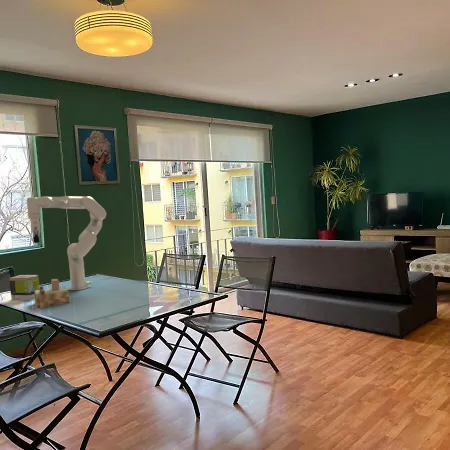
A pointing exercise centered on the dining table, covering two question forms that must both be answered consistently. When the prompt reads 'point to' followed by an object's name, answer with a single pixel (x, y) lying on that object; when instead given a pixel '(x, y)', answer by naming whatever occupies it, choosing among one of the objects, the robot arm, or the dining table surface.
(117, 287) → the dining table surface
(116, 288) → the dining table surface
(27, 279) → the tea box
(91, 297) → the dining table surface
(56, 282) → the lid
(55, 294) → the open wooden box
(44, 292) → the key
